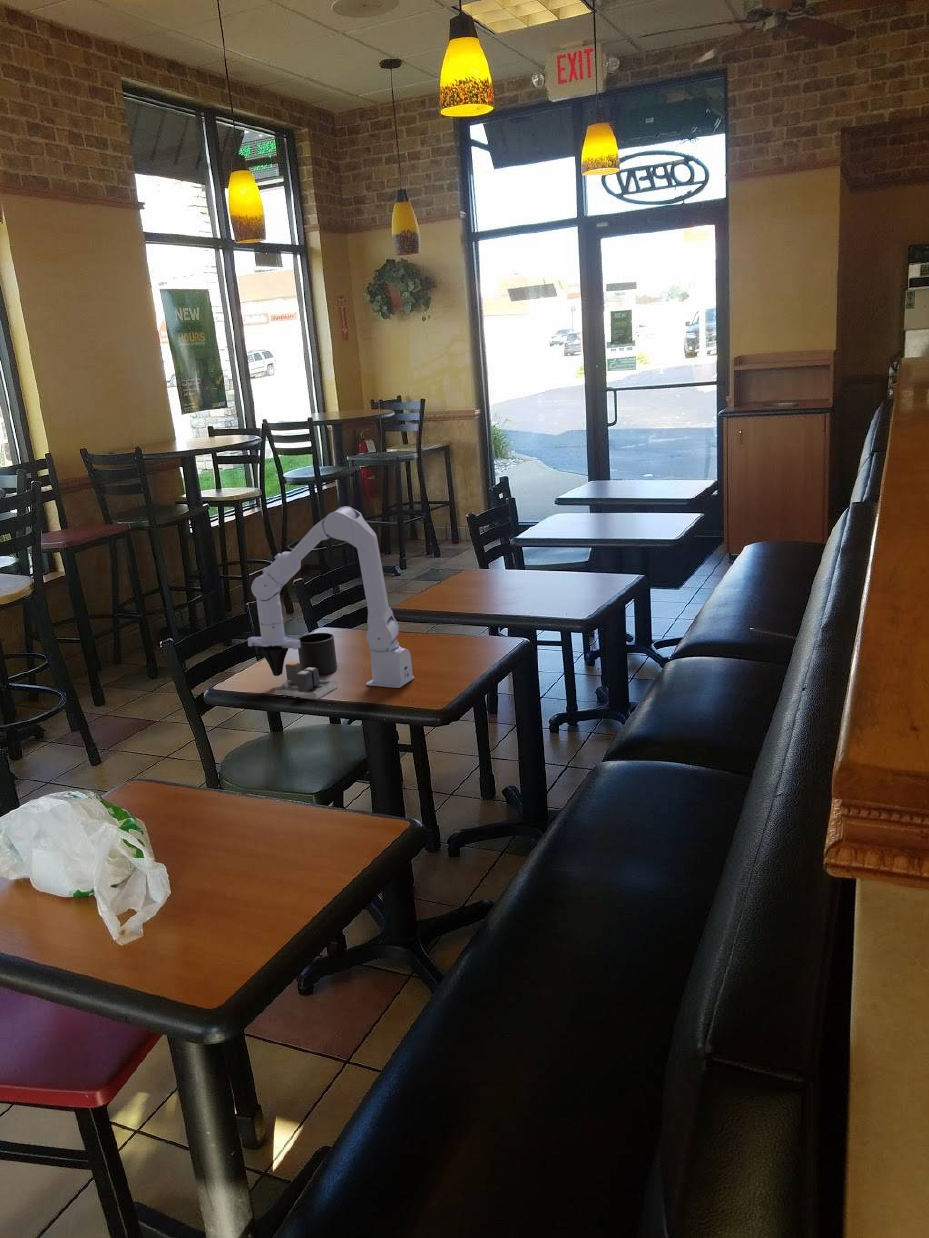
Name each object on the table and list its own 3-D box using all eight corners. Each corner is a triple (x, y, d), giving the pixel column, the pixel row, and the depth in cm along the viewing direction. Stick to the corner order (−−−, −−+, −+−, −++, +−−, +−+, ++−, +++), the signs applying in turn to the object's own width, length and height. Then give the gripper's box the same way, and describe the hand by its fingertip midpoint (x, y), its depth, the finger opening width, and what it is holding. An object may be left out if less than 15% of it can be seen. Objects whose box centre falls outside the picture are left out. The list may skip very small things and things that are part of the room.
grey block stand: (337, 687, 234) (334, 663, 233) (316, 699, 227) (313, 675, 225) (297, 683, 240) (294, 660, 238) (275, 695, 232) (272, 671, 230)
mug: (345, 662, 254) (342, 629, 252) (330, 676, 243) (326, 642, 241) (312, 662, 256) (308, 630, 254) (295, 677, 245) (291, 643, 243)
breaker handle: (302, 678, 237) (300, 662, 236) (297, 681, 235) (295, 665, 234) (292, 677, 239) (290, 661, 238) (287, 680, 237) (285, 664, 236)
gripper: (237, 625, 235) (244, 677, 239) (285, 628, 229) (292, 681, 232) (255, 617, 241) (261, 668, 245) (302, 620, 235) (309, 672, 238)
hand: (278, 674), depth 239 cm, fingers closed
